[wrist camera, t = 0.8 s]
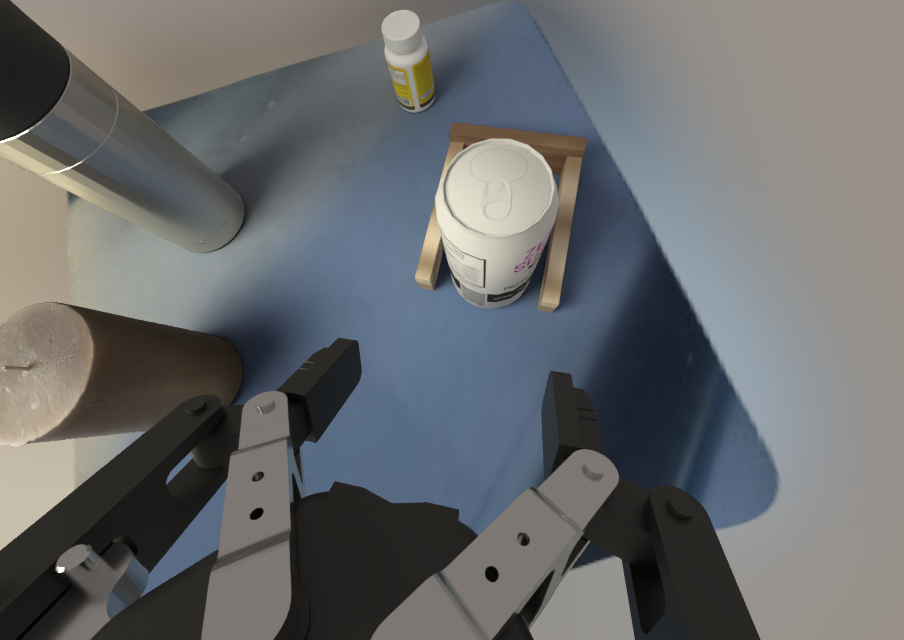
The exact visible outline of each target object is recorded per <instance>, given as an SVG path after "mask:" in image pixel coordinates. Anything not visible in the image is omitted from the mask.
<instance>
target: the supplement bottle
mask: <svg viewBox="0 0 904 640" xmlns="http://www.w3.org/2000/svg"><path fill="white" fill-rule="evenodd" d="M382 34H383V38H384V42H385V49H384V52H385V58H386V61H387V65H388V68H389V71H390V75H391V78H392V82H393V85H394V88H395V92H396V95H397V98H398V102H399V104H400V106H401V107H402V108H403V109H404V110H406V111H408V112H413V113H415V112H421V111H424V110H426V109H427V108H429V107H430V106H431V105H432V103H433V102H434V99H435V87H434V81H433V75H432V69H431V63H430V56H429V50H428V44H427V41H426V39H425V37H424V36H423V35H422V30H421V25H420V20H419V18H418V16H417V15H416V14H415V13H414V12H412V11H409V10H398V11H395V12H393V13H391V14H389V15H388V16H387V17H386V18H385V19H384V21H383V23H382Z"/></svg>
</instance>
